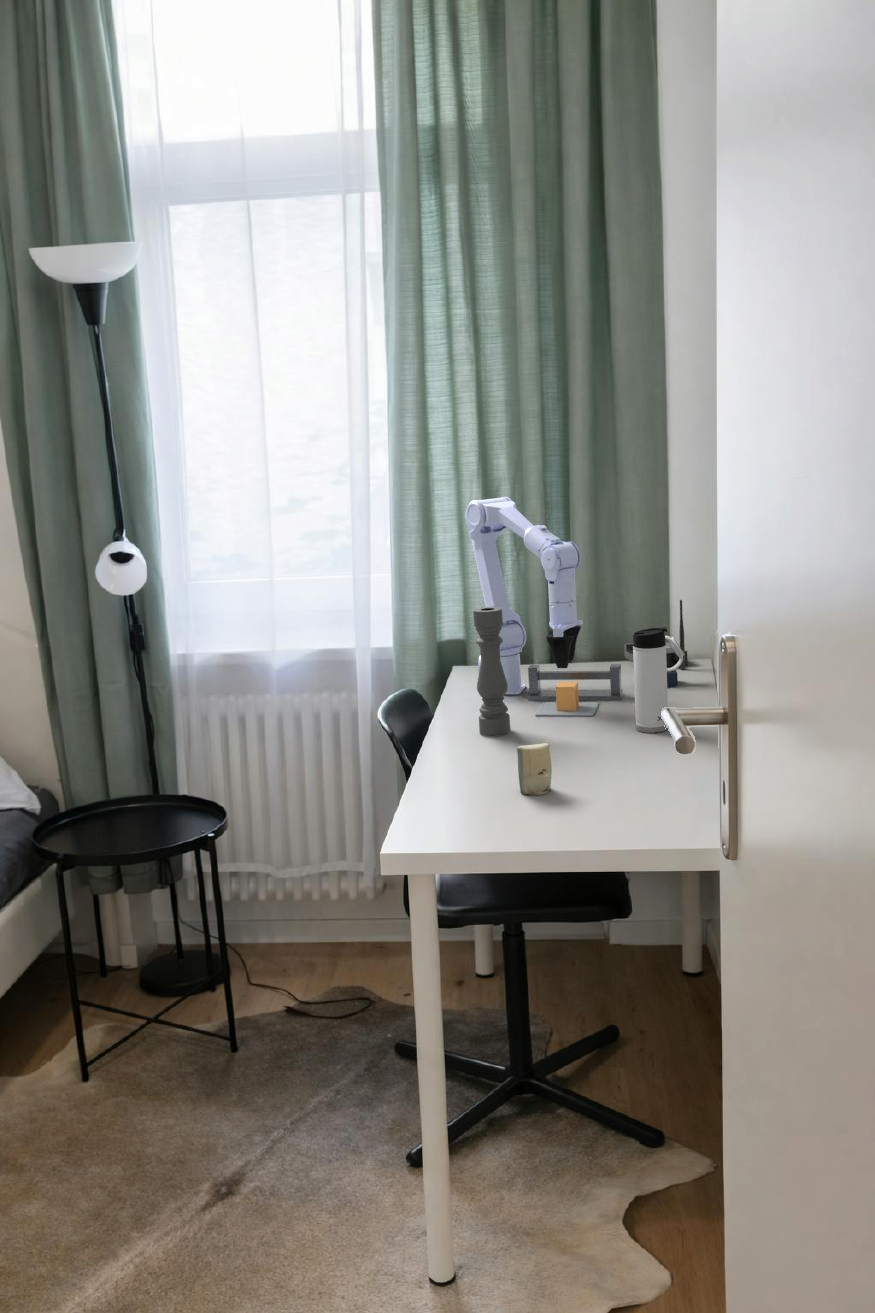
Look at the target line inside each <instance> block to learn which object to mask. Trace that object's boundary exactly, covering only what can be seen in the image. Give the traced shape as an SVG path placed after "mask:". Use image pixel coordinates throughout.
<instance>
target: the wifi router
mask: <svg viewBox="0 0 875 1313" xmlns="http://www.w3.org/2000/svg"><path fill="white" fill-rule="evenodd" d="M679 614H680V615H679V630H678V631H679V634H678V635H679V646H680V648H681V649H682V651H683V653H684V655H683V661H682V663H681V665H680V666H679V667H678V668H680V670H683V671H684V670H686V667H689V666H688V665H689V664H688V651H687V650H686V649H685V648H686V644H685V630H684V629H685V628H684V619H683V618H684V617H683V600H682V599H679ZM665 642H666V662H667V668H671V667H673V666H675V665H676V664H677V663H678V661H679V659H680V658H679V657H678V656H677V654H676V653H675V651H674V650H673V648H672V646H671V645H670V643H669V642H668V640H665ZM623 647H624V648H623V650H624V658H625V659H626V660H628V661H630V662H631V663H633V664H634V661H633V642H628V643H626V642H625V643H624V644H623Z"/></svg>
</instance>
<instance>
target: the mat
mask: <svg viewBox="0 0 875 1313" xmlns="http://www.w3.org/2000/svg"><path fill="white" fill-rule="evenodd" d="M599 705H600V701H597V702H596V701H589V702H588V701H587V702H586V701H583V702H582V701H579V706H578V707H576V711H557V705H556V701H552V702H551V701H543V702H542V704H541V706H540V707H539V708H538V711H536V713H535V717H594V715H595V713H596V712H597V709H598V707H599Z"/></svg>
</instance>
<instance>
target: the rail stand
mask: <svg viewBox="0 0 875 1313" xmlns="http://www.w3.org/2000/svg"><path fill="white" fill-rule="evenodd" d="M621 668H622V665H621V663H611V664H610V666H609V670H549V671H548V670H547V671H545V670H543V671H542V670H541V668H540V664H530V665H529V666H528V667H527V669H528V670H527V672H528V690H529V693H528V694H529V695H528V697H527V698H528V701H529V702H530V701H531V702H533V701H534V702H536V701H537V702H551V701H552V702H556V689H541V681H564V680H565V681H573V680H574V681H577V680H579V681H581V680H583V681H585V680H590V681H591V680H593V681H595V680H609V682H610V689H578V697H579V702H582V701H583V702H586V701H587V702H588V701H589V702H596V701H597V702H601V701H602V702H604V701H606V702H607V701H608V702H609V701H612V702H616V701H617V702H619V701H621V699H622V696H623V689H622V669H621Z"/></svg>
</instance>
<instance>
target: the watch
mask: <svg viewBox="0 0 875 1313" xmlns="http://www.w3.org/2000/svg"><path fill="white" fill-rule="evenodd" d="M665 639H666V640H667V642H669V643H670V645H671V646H672V648H673V650H674V651H675V653H676V654H677V656H678V657H679V658H680V659H679V661H678V663H677V664H676V665H675V666H673V667H671V668H667V688H671V687H672V688H675V686H679V682H678V671H677V669H679V668H680V667H679V666H680V665H681V663H682V661H683V655H684V653H683V651H682V649H681V648H680V644H679V643H678V642H677V640H676V639H675V638H674V636H669V635H665Z"/></svg>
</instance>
